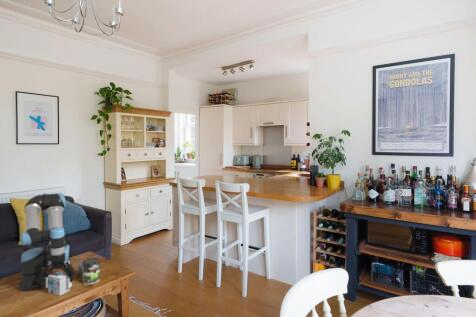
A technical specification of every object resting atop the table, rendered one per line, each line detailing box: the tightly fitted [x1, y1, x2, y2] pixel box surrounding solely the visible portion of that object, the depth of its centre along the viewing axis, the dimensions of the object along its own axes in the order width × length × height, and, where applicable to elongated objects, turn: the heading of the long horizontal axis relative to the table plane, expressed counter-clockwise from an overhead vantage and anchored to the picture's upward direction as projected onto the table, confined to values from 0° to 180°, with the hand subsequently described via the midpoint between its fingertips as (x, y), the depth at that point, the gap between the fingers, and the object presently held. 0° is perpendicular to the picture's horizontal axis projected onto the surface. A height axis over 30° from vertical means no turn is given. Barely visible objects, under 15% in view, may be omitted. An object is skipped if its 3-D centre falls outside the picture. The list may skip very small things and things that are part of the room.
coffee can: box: [81, 257, 101, 285], centre depth 191 cm, size 10×10×14 cm
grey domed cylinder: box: [77, 262, 83, 277], centre depth 200 cm, size 5×5×8 cm
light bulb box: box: [47, 271, 71, 296], centre depth 177 cm, size 11×7×11 cm, turn 70°
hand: (59, 287), depth 177 cm, fingers open, 13 cm apart
